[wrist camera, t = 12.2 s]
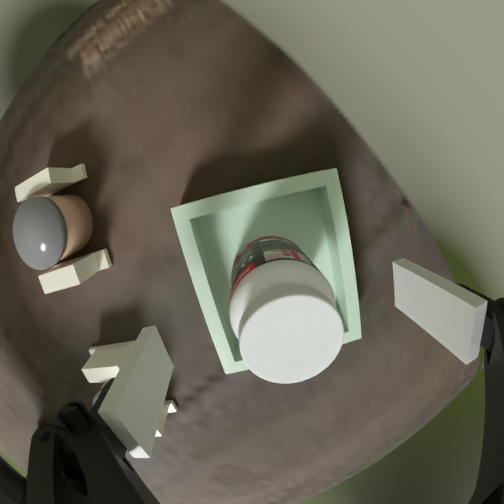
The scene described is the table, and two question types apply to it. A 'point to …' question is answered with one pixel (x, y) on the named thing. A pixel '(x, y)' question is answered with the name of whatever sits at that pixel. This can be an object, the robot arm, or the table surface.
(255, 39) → the table surface
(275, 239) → the pill bottle
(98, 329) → the table surface
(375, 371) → the table surface
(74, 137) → the table surface
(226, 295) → the tray
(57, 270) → the cream flat pieces
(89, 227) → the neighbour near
